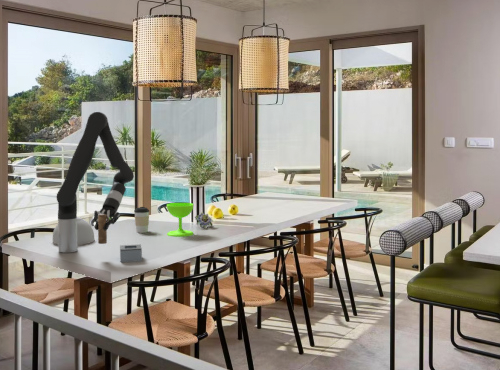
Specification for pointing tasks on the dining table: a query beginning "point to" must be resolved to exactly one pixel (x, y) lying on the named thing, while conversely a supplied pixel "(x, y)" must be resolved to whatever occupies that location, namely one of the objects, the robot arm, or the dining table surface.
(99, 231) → the walnut peg
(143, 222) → the coffee cup
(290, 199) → the dining table surface
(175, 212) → the wineglass
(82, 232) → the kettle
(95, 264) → the dining table surface
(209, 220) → the passion flower
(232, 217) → the dining table surface
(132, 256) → the collar
